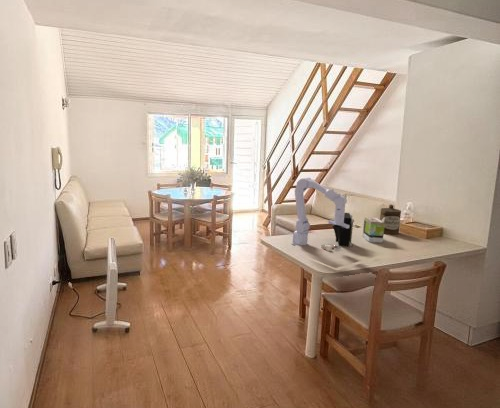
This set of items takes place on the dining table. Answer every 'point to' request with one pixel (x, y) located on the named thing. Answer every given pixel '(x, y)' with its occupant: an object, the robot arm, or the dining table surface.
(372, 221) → the tea box
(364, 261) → the dining table surface
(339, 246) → the heatsink
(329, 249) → the white stepped block
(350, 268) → the dining table surface
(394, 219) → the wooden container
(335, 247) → the brown flat bar
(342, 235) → the electrical component
